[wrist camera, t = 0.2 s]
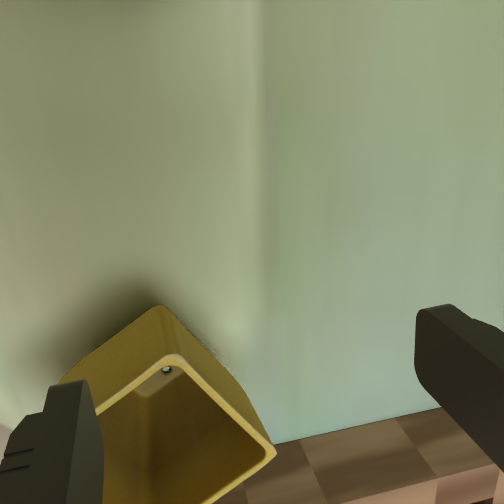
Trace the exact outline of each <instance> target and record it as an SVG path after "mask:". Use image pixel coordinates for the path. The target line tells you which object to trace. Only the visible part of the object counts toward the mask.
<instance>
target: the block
mask: <svg viewBox="0 0 504 504" xmlns="http://www.w3.org/2000/svg"><path fill="white" fill-rule="evenodd" d="M273 446H274V447H275V449H276V452H277V454H276V456H275V457H274V458H273V459H271V460H270V461H269V462H268V463H267V464H266V465H265V466H263V467H262V468H261V469H259V470H258V471H257V472H256V473H254V474H253V475H251V476H250V477H248V478H247V479H245V480H244V481H242V482H241V483H240V484H238V485H237V486H236V487H234V488H233V489H231V490H230V491H228V492H227V493H226V494H224V495H223V496H221V497H220V498H219V499H217V500H216V501H215V502H213V503H212V504H504V473H503V472H502V471H501V469H500V468H499V467H498V466H497V465H496V464H495V463H494V462H493V461H492V460H491V459H490V458H489V457H488V456H487V455H486V454H485V452H484V451H483V450H482V449H481V448H480V447H479V446H478V445H477V444H476V443H475V442H474V441H473V440H472V439H471V438H470V436H469V435H468V434H467V433H466V432H465V431H464V430H463V429H462V428H461V427H460V426H459V425H458V424H457V423H456V422H455V421H454V419H453V418H452V417H451V416H450V415H449V414H448V413H447V412H446V411H445V410H444V409H443V408H442V407H441V408H437V409H432V410H428V411H424V412H419V413H415V414H410V415H406V416H402V417H397V418H393V419H388V420H384V421H379V422H375V423H371V424H366V425H362V426H357V427H353V428H348V429H344V430H340V431H335V432H331V433H326V434H322V435H317V436H313V437H309V438H304V439H300V440H295V441H291V442H286V443H282V444H278V445H273Z"/></svg>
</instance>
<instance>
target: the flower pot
mask: <svg viewBox="0 0 504 504" xmlns="http://www.w3.org/2000/svg"><path fill="white" fill-rule="evenodd" d="M166 366H169V367H170V368H171V370H170V372H168V373H164V372H163V371H162V369H163V368H164V367H166ZM82 379H86V380H87V382H88V385H89V388H90V392H91V396H92V399H93V403H94V407H95V411H96V415H97V419H98V423H99V427H100V431H101V435H102V440H103V446H104V481H103V498H102V504H212V503H213V502H215V501H216V500H217V499H219V498H220V497H221V496H223V495H224V494H226V493H227V492H228V491H230V490H231V489H233V488H234V487H236V486H237V485H238V484H240V483H241V482H242V481H244V480H245V479H247V478H248V477H250V476H251V475H253V474H254V473H256V472H257V471H258V470H259V469H261V468H262V467H263V466H265V465H266V464H267V463H268V462H269V461H270V460H271V459H273V458H274V457H275V456H276V454H277V452H276V449H275V447H274V446H273V444H272V442H271V440H270V438H269V436H268V434H267V432H266V431H265V429H264V427H263V425H262V423H261V421H260V419H259V417H258V416H257V414H256V412H255V410H254V408H253V406H252V404H251V402H250V400H249V398H248V397H247V395H246V393H245V392H244V390H243V389H242V387H241V386H240V385H239V383H238V382H237V381H236V379H235V378H234V377H233V376H232V375H231V374H230V373H229V372H228V371H227V370H226V369H225V368H224V367H223V366H222V365H221V364H220V363H219V362H218V361H217V360H216V359H215V358H214V357H213V356H212V355H211V354H210V353H209V352H208V350H207V349H206V348H205V347H204V346H203V345H202V344H201V343H200V342H199V341H198V340H197V339H196V338H195V337H194V336H193V335H192V334H191V333H190V332H189V331H188V330H187V329H186V328H185V327H184V326H183V324H182V323H181V322H180V321H179V320H178V319H177V318H176V317H175V316H174V315H173V313H172V312H171V311H170V310H169V309H167V308H166V307H164V306H162V305H158V306H154V307H152V308H151V309H149V310H148V311H146V312H145V313H144V314H143V315H141V316H140V317H139V318H137V319H136V320H134V321H133V322H132V323H130V324H129V325H128V326H126V327H125V328H124V329H122V330H121V331H120V332H118V333H117V334H116V335H114V336H113V337H112V338H110V339H109V340H108V341H106V342H105V343H103V344H102V345H101V346H99V347H98V348H97V349H95V350H94V351H92V352H91V353H90V354H88V355H87V356H86V357H84V358H83V359H82V360H81V361H79V362H78V363H77V364H76V365H75V366H74V367H73V368H72V369H71V370H70V371H69V372H68V373H67V374H66V375H65V376H64V377H63V378H62V380H61V381H60V382H59V384H63V383H68V382H73V381H77V380H82Z"/></svg>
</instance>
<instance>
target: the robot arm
mask: <svg viewBox="0 0 504 504" xmlns="http://www.w3.org/2000/svg"><path fill="white" fill-rule="evenodd" d="M414 366H415V371H416V374H417V377H418V379H419V381H420V383H421V385H422V386H423V387H424V389H425V390H426V391H427V392H428V393H429V394H430V395H431V396H432V397H433V398H434V399H435V400H436V401H437V402H438V403H439V405H440V406H441V407H442V408H443V409H444V410H445V411H446V412H447V413H448V414H449V415H450V416H451V417H452V418H453V419H454V421H455V422H456V423H457V424H458V425H459V426H460V427H461V428H462V429H463V430H464V431H465V432H466V433H467V434H468V435H469V436H470V438H471V439H472V440H473V441H474V442H475V443H476V444H477V445H478V446H479V447H480V448H481V449H482V450H483V451H484V452H485V454H486V455H487V456H488V457H489V458H490V459H491V460H492V461H493V462H494V463H495V464H496V465H497V466H498V467H499V468H500V469H501V471H502V472H503V473H504V332H502V331H501V330H499V329H498V328H497V327H495V326H492V325H489V324H487V323H484V322H482V321H479V320H476V319H472V318H470V317H469V316H468V315H466V314H465V313H463V312H462V311H461V310H459V309H458V308H456V307H455V306H453V305H452V304H444V305H440V306H435V307H430V308H425V309H421V310H419V312H418V313H417V316H416V331H415V354H414ZM103 481H104V446H103V440H102V435H101V431H100V427H99V423H98V419H97V415H96V411H95V407H94V403H93V399H92V396H91V392H90V388H89V385H88V382H87V380H86V379H82V380H77V381H73V382H68V383H63V384H58V385H53V386H50V387H49V389H48V393H47V397H46V401H45V405H44V409H43V412H40V413H35V414H31V415H26V416H25V417H24V419H23V420H22V421H21V422H20V423H19V425H18V426H17V427H16V428H15V430H14V431H13V432H12V433H11V434H10V437H9V440H8V443H7V446H6V449H5V452H4V459H2V461H1V465H0V504H102V498H103Z"/></svg>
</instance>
